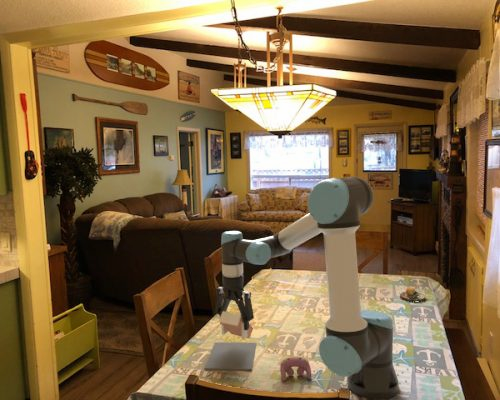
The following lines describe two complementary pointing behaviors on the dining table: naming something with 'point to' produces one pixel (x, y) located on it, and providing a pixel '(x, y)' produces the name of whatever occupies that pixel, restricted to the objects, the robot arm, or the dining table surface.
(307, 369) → the video game controller
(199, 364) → the dining table surface
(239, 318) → the block
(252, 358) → the mat
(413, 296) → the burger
